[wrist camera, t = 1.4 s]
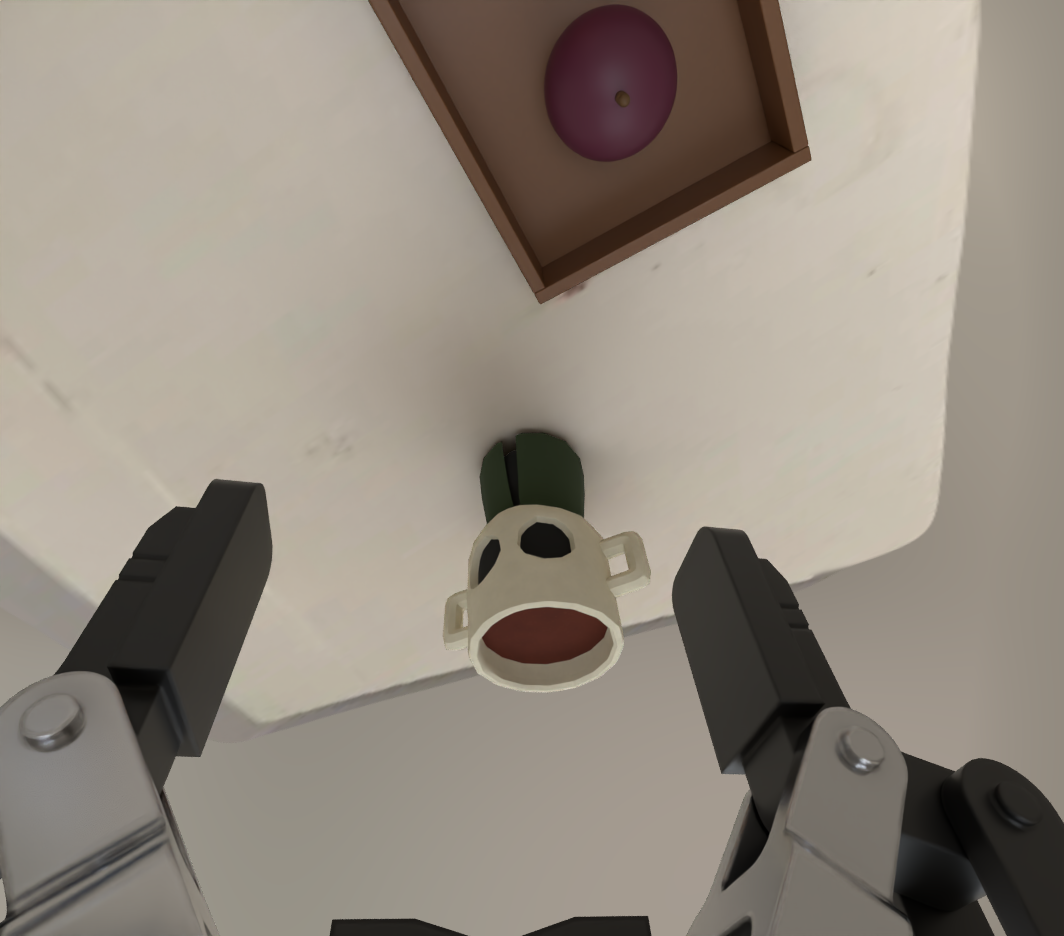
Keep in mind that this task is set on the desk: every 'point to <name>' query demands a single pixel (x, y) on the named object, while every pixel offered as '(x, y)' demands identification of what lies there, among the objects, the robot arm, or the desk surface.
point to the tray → (587, 185)
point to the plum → (610, 83)
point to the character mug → (541, 575)
